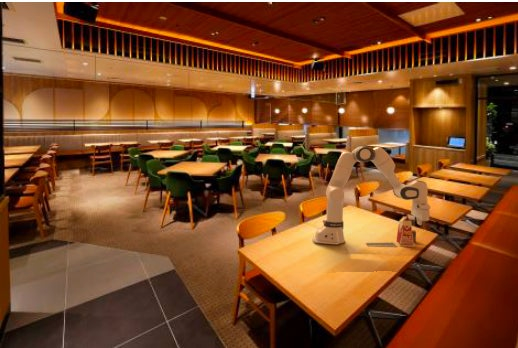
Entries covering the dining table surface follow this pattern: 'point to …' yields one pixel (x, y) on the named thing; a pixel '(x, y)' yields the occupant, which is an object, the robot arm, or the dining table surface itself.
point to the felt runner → (382, 244)
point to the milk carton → (405, 233)
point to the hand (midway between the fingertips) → (419, 224)
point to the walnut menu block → (414, 235)
